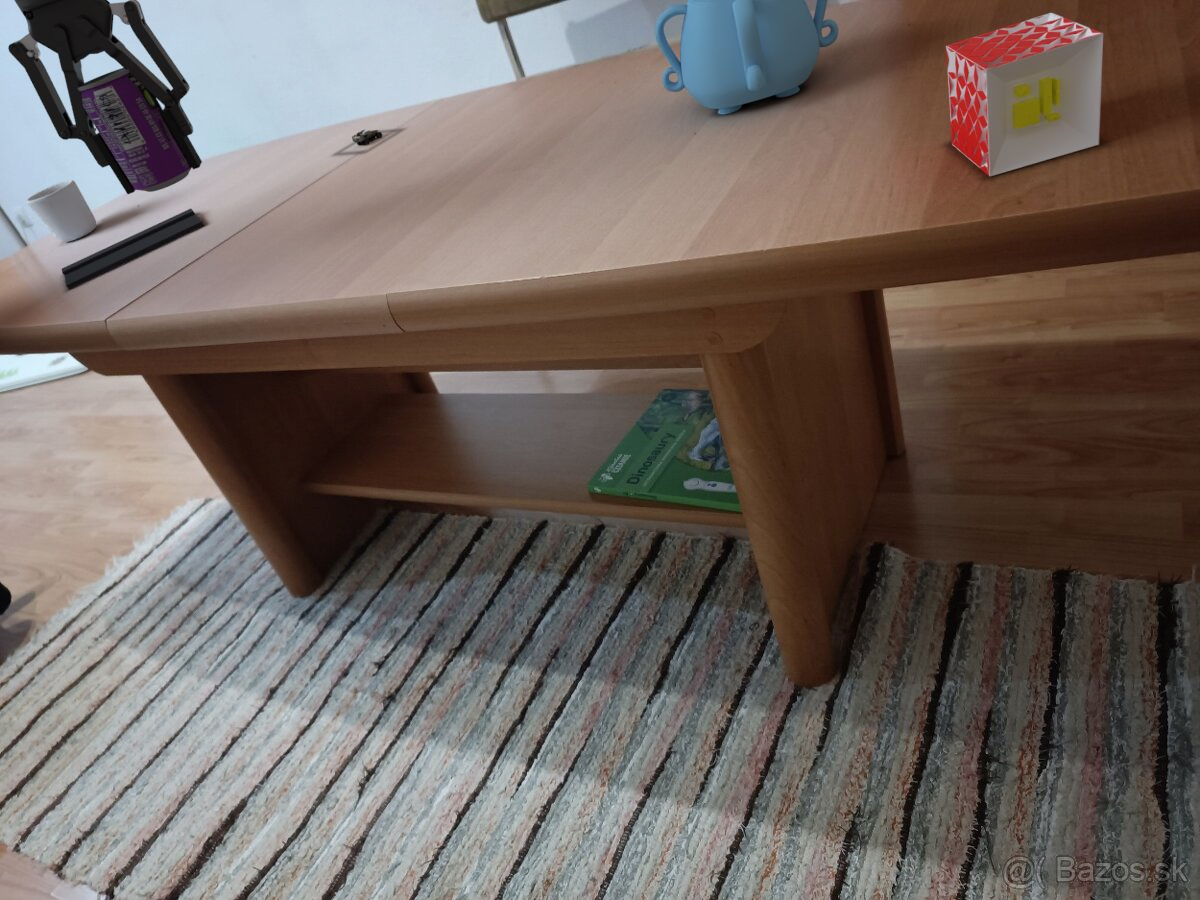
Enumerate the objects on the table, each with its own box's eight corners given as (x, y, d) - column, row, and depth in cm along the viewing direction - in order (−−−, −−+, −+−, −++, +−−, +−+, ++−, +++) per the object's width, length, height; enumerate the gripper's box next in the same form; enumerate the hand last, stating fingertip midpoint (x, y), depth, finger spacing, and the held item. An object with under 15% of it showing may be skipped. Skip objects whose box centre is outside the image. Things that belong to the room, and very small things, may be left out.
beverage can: (209, 166, 100) (149, 60, 93) (160, 194, 96) (93, 84, 89) (174, 171, 104) (114, 68, 97) (126, 197, 100) (60, 92, 93)
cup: (66, 232, 151) (36, 189, 147) (110, 214, 152) (81, 171, 147) (52, 251, 142) (19, 206, 138) (99, 232, 143) (67, 187, 138)
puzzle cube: (989, 176, 65) (985, 69, 61) (951, 145, 72) (945, 45, 67) (1100, 144, 64) (1104, 32, 60) (1051, 114, 70) (1052, 12, 66)
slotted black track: (69, 290, 120) (63, 282, 119) (66, 273, 128) (61, 266, 127) (204, 225, 126) (199, 218, 125) (194, 214, 133) (189, 206, 133)
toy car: (383, 136, 136) (377, 123, 135) (364, 147, 134) (358, 134, 133) (373, 137, 138) (367, 124, 137) (354, 147, 136) (348, 135, 135)
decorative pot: (657, 118, 101) (624, -6, 94) (755, 63, 107) (732, -59, 99) (753, 128, 89) (725, -14, 81) (859, 65, 94) (842, -74, 86)
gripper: (137, -76, 90) (249, 139, 103) (-50, -9, 89) (88, 200, 102) (124, -75, 84) (245, 153, 97) (-77, -3, 83) (74, 219, 96)
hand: (165, 177), depth 100 cm, fingers closed on beverage can, 7 cm apart
